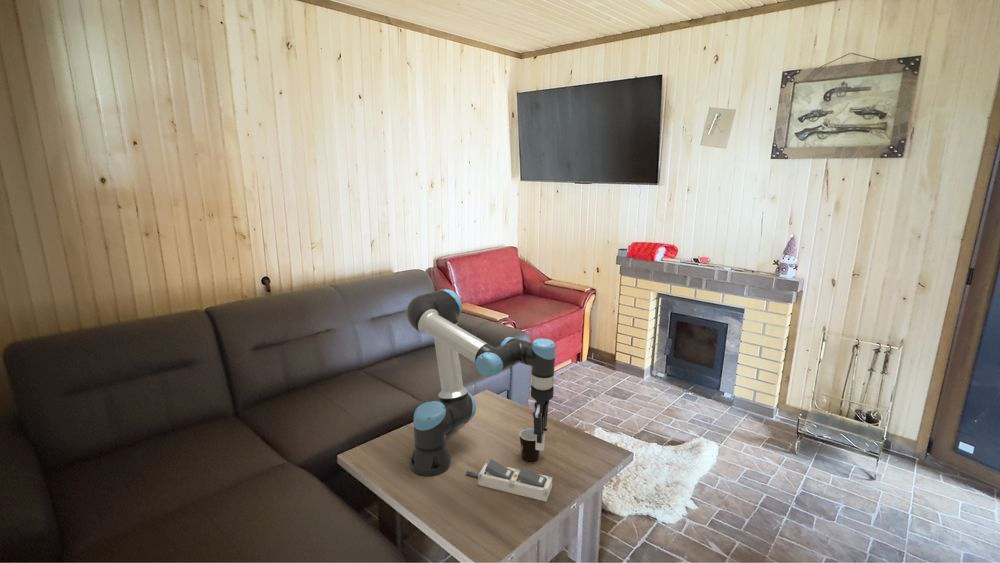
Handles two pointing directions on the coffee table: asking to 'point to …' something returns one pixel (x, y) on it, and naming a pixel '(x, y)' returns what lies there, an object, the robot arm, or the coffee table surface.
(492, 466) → the rocker
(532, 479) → the rocker
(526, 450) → the coffee mug
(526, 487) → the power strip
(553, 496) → the coffee table surface
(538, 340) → the robot arm
